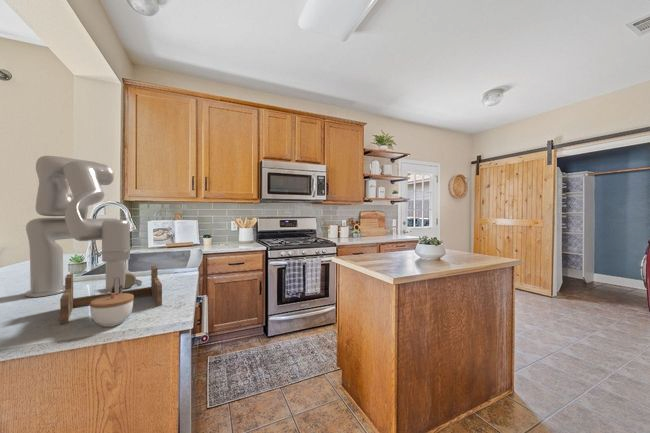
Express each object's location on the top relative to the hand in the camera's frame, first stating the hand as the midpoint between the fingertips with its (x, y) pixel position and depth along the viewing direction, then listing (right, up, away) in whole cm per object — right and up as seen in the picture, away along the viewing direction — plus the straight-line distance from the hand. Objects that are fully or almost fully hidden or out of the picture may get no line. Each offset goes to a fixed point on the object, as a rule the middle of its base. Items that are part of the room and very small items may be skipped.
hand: (116, 308), depth 91 cm
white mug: (-19, -1, +31) cm, 36 cm away
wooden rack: (-5, -2, +6) cm, 8 cm away
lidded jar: (+5, -2, -7) cm, 9 cm away
